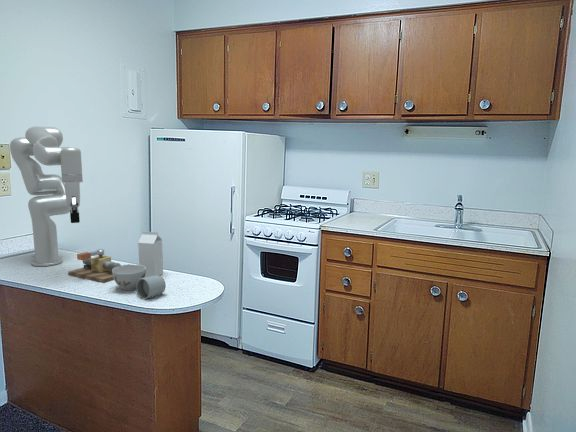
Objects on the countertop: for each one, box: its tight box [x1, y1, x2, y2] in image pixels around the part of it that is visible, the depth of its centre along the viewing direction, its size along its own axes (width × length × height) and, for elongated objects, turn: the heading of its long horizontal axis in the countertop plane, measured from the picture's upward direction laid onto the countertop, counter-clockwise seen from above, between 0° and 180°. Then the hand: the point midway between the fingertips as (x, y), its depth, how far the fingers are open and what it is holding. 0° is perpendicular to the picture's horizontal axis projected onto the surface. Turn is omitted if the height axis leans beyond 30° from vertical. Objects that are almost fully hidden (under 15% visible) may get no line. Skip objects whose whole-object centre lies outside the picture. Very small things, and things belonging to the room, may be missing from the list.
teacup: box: [112, 264, 146, 291], centre depth 166 cm, size 15×12×8 cm
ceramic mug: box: [136, 275, 166, 300], centre depth 157 cm, size 11×8×8 cm
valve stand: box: [67, 255, 121, 284], centre depth 182 cm, size 22×16×8 cm
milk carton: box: [137, 231, 164, 277], centre depth 180 cm, size 7×7×19 cm
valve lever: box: [76, 248, 105, 261], centre depth 178 cm, size 12×3×2 cm, turn 152°
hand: (75, 220), depth 175 cm, fingers open, 8 cm apart
